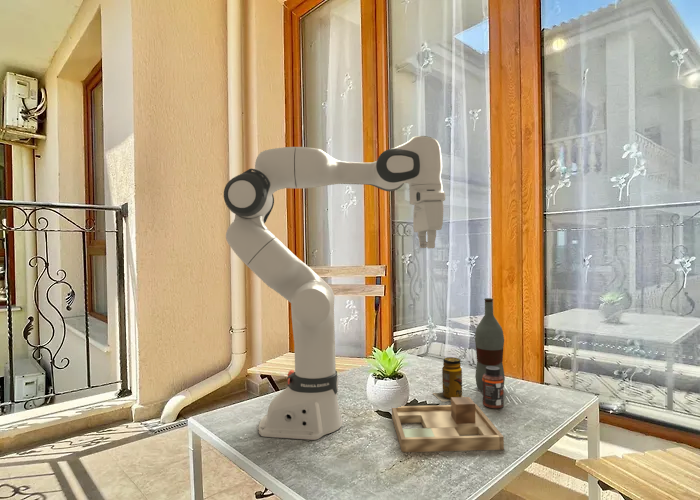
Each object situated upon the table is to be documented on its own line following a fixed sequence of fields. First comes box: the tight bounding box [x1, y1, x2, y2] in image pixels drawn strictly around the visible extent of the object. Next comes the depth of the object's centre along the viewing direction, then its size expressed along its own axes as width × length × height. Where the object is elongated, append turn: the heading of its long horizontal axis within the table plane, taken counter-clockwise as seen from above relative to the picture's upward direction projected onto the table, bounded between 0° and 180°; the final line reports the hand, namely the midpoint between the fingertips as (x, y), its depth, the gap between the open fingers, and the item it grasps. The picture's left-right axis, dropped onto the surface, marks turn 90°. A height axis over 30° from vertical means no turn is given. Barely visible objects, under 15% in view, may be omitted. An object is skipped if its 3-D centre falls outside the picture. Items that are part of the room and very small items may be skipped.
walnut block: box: [450, 396, 476, 424], centre depth 111 cm, size 5×5×5 cm
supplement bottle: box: [482, 366, 505, 410], centre depth 125 cm, size 6×6×11 cm
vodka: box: [474, 297, 506, 392], centre depth 139 cm, size 9×9×30 cm
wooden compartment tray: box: [391, 403, 505, 453], centre depth 108 cm, size 24×20×3 cm
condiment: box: [432, 356, 465, 403], centre depth 133 cm, size 7×8×12 cm
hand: (426, 248), depth 114 cm, fingers open, 8 cm apart
